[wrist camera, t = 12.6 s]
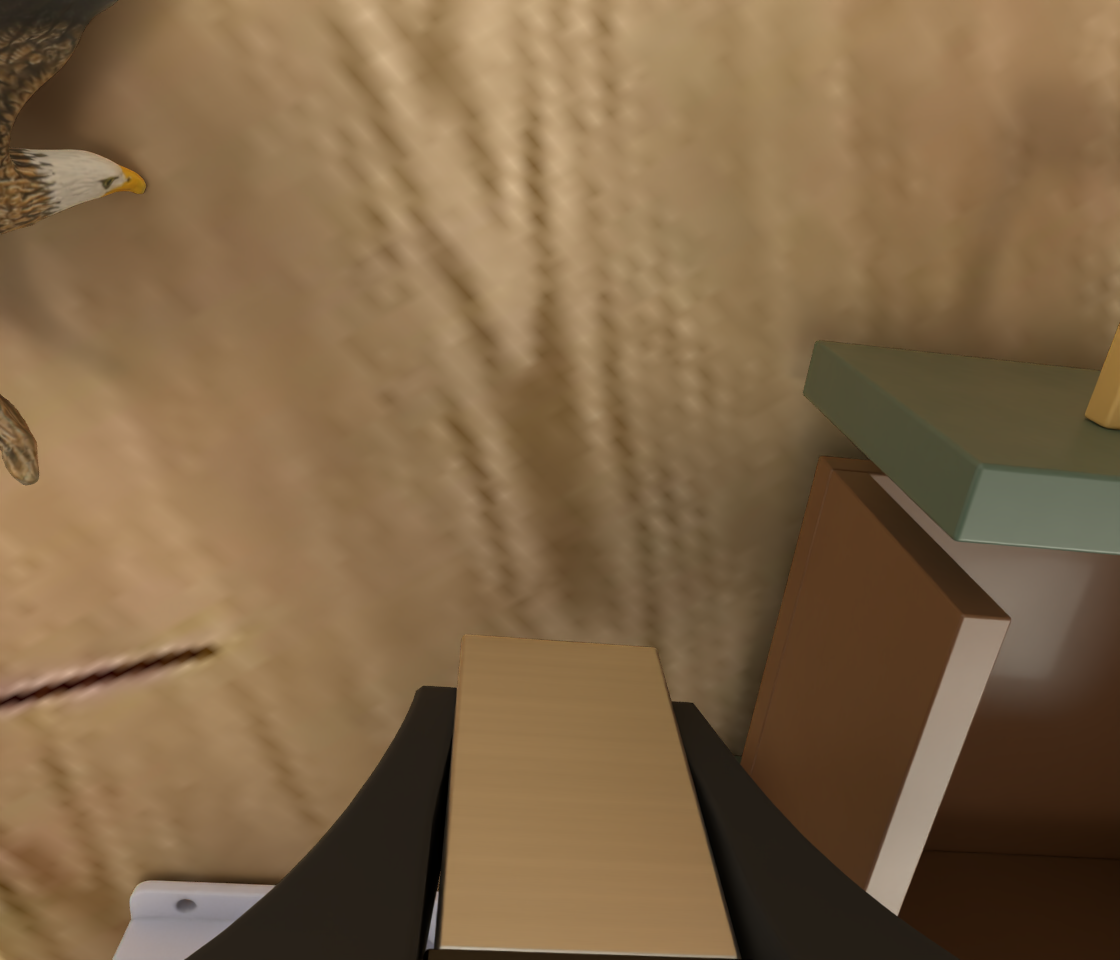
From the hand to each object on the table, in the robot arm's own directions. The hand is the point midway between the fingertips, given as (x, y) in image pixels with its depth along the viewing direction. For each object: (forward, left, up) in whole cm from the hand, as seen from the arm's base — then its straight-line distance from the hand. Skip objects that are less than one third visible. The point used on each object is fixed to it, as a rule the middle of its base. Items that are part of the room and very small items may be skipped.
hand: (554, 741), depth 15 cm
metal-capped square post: (0, 0, -1) cm, 1 cm away
